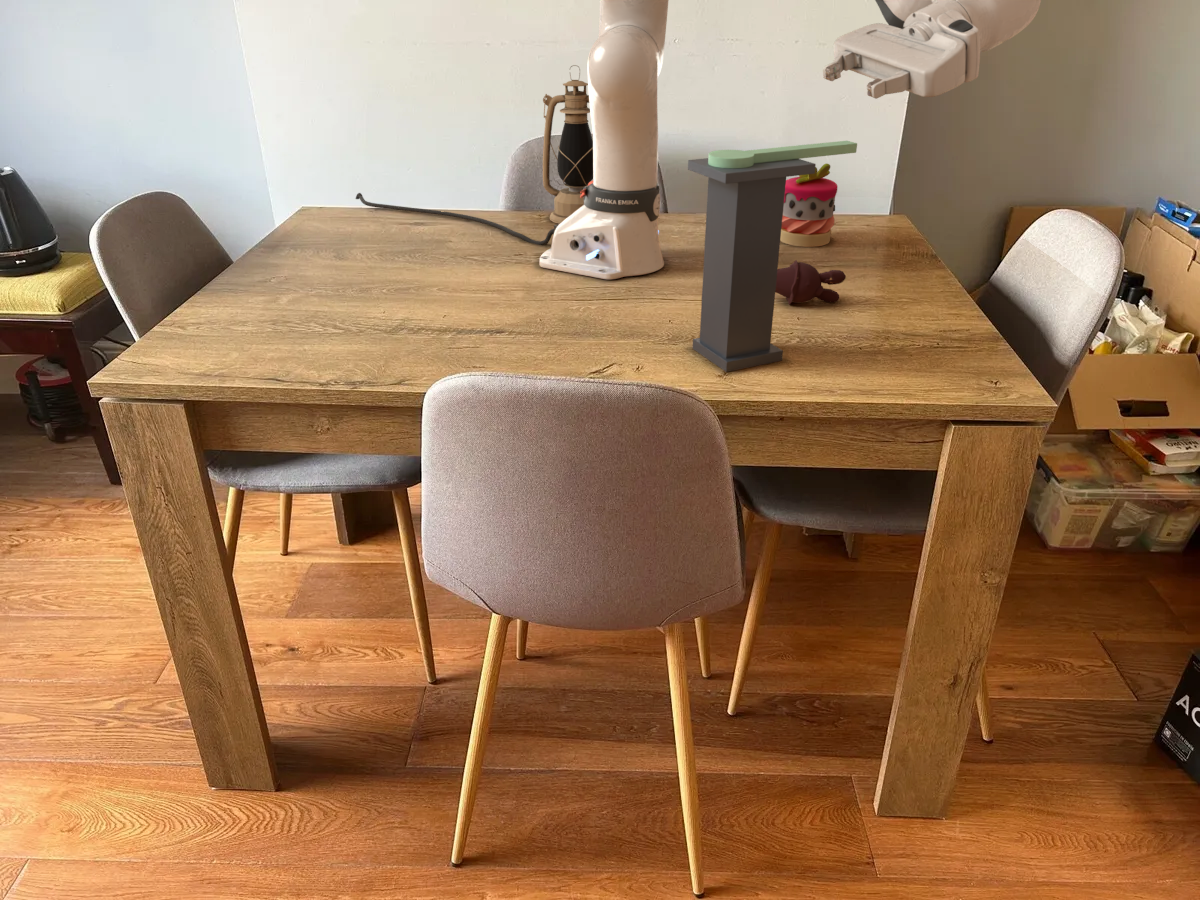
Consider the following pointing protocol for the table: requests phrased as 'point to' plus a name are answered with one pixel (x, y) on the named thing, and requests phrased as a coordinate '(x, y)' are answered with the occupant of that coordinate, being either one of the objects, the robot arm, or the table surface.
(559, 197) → the lantern
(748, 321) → the stand
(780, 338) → the table surface
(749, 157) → the spoon
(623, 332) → the table surface
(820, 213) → the cake
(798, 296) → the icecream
